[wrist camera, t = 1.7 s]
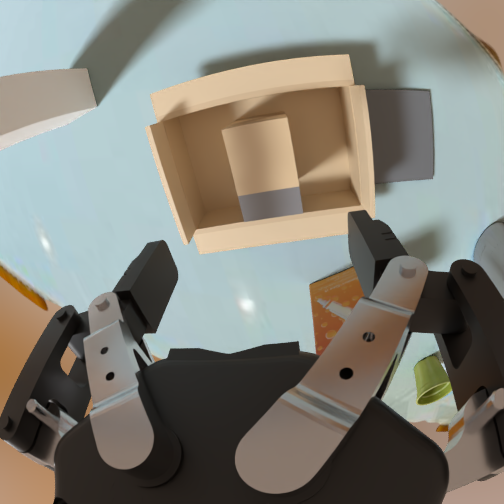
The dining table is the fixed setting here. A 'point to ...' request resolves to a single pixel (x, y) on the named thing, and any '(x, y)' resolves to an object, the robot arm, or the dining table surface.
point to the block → (263, 166)
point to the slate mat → (401, 135)
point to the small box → (333, 305)
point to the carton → (303, 141)
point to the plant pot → (431, 381)
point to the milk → (42, 102)
